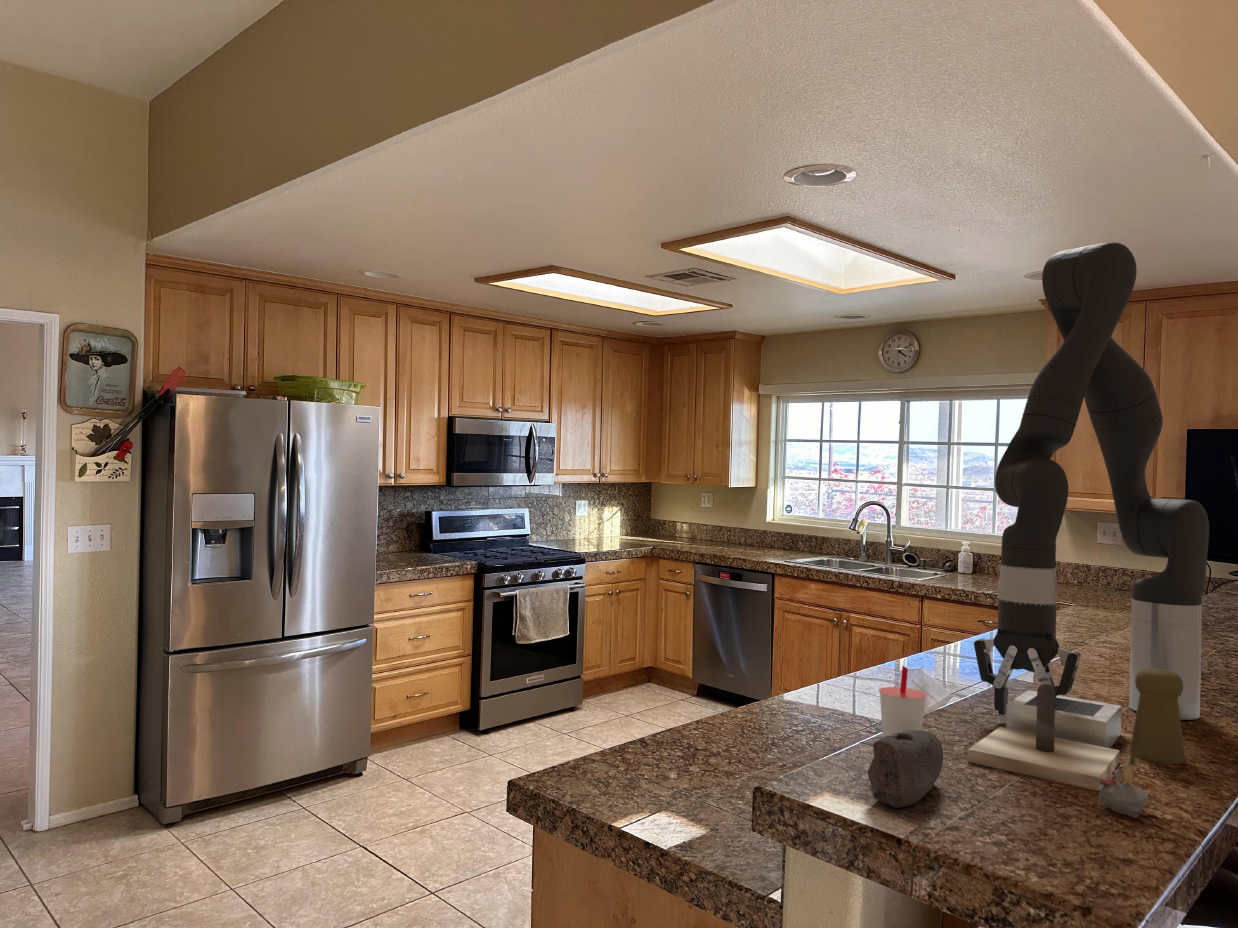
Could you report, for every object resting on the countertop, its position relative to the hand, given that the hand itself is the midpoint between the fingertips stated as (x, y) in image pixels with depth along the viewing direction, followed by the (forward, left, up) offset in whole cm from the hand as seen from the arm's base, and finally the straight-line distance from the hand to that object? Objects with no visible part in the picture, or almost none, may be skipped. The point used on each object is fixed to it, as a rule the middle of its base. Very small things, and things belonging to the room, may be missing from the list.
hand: (1024, 717), depth 120 cm
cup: (+32, -6, -1) cm, 33 cm away
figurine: (+28, +16, -2) cm, 32 cm away
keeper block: (+16, +6, -1) cm, 17 cm away
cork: (+2, +16, -1) cm, 16 cm away
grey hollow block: (0, +5, -1) cm, 5 cm away
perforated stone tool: (+40, -2, -2) cm, 40 cm away
